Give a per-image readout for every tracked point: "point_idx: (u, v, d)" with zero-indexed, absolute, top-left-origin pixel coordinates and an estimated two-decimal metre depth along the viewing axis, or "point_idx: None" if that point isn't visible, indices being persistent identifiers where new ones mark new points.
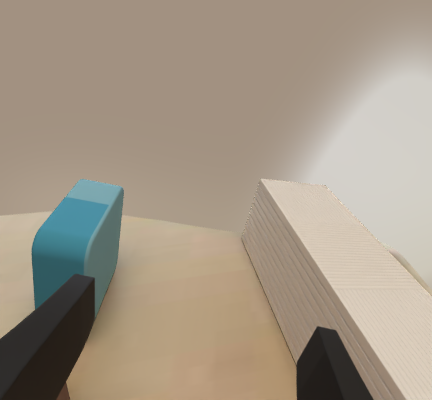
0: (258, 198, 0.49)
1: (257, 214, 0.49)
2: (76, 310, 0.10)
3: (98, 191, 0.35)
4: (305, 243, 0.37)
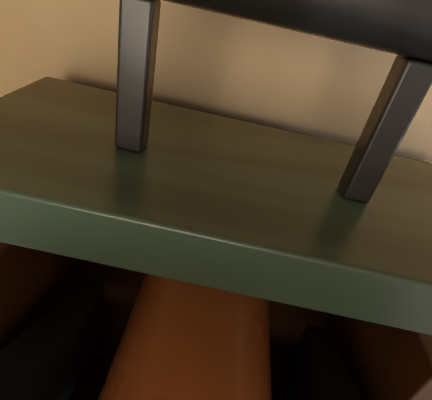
0: None
1: None
2: (86, 312, 0.10)
3: None
4: None
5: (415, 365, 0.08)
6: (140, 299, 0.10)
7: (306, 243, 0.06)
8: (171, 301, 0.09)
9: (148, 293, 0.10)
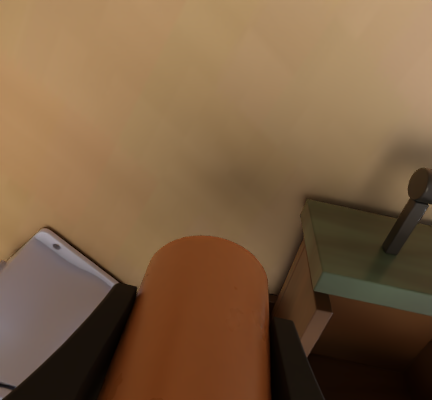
0: None
1: None
2: (122, 320, 0.10)
3: None
4: None
5: None
6: (139, 299, 0.10)
7: None
8: (170, 301, 0.09)
9: (147, 293, 0.10)
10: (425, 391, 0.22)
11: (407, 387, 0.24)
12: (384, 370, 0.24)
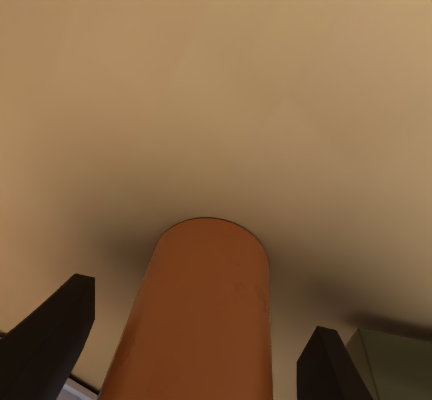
0: None
1: None
2: (76, 310, 0.10)
3: None
4: None
5: None
6: (148, 276, 0.11)
7: None
8: (178, 275, 0.10)
9: (156, 270, 0.11)
10: None
11: None
12: None
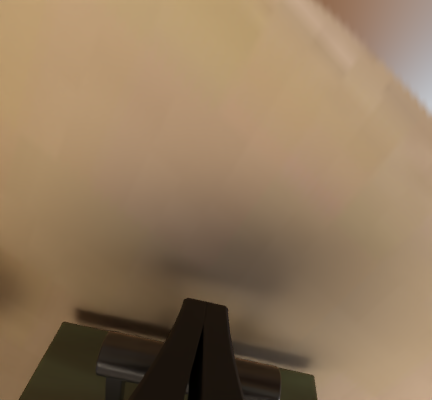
0: None
1: None
2: (199, 337, 0.10)
3: None
4: None
5: None
6: None
7: None
8: None
9: None
10: None
11: None
12: None
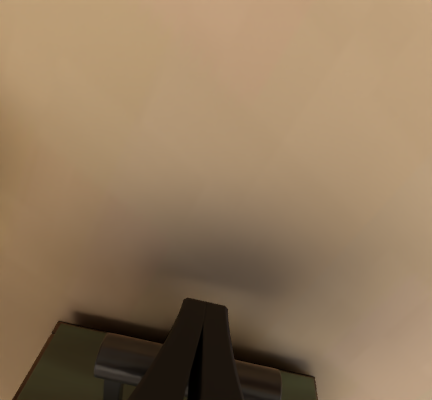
0: None
1: None
2: (199, 336, 0.10)
3: None
4: None
5: None
6: None
7: None
8: None
9: None
10: None
11: None
12: None
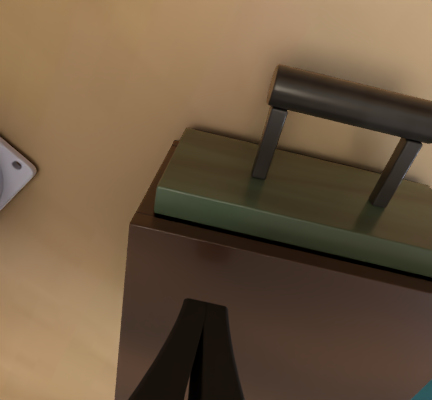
0: None
1: None
2: (199, 337, 0.10)
3: None
4: None
5: None
6: None
7: (358, 227, 0.12)
8: None
9: None
10: None
11: None
12: None
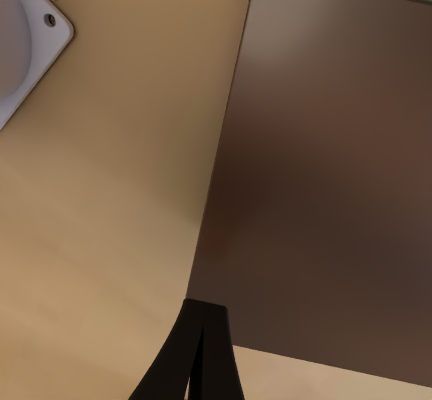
0: None
1: None
2: (199, 337, 0.10)
3: None
4: None
5: None
6: None
7: None
8: None
9: None
10: None
11: None
12: None
